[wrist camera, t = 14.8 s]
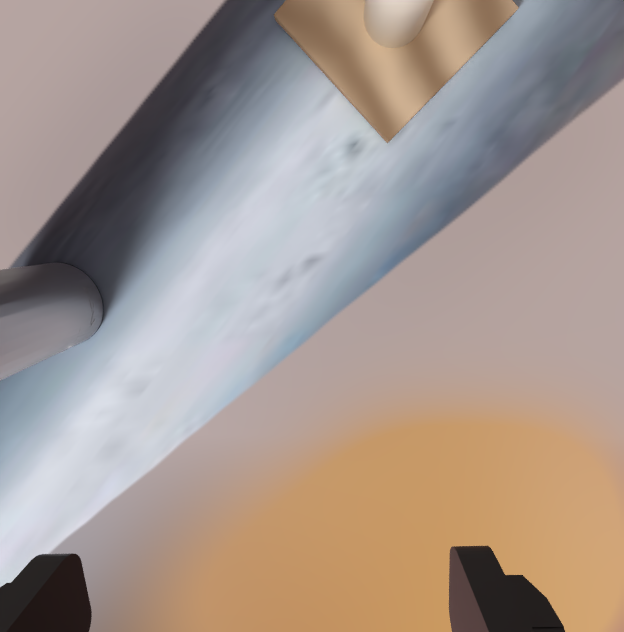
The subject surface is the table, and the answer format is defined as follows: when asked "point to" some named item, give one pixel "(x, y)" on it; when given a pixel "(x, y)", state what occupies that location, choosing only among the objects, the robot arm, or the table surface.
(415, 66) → the oak board
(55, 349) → the robot arm
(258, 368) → the table surface
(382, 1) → the lotion bottle
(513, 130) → the table surface
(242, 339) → the table surface
